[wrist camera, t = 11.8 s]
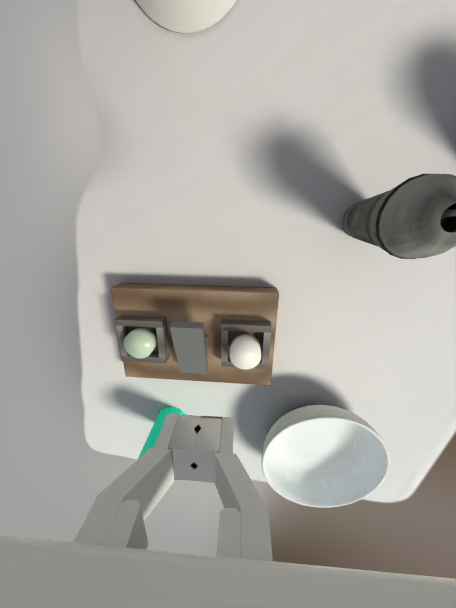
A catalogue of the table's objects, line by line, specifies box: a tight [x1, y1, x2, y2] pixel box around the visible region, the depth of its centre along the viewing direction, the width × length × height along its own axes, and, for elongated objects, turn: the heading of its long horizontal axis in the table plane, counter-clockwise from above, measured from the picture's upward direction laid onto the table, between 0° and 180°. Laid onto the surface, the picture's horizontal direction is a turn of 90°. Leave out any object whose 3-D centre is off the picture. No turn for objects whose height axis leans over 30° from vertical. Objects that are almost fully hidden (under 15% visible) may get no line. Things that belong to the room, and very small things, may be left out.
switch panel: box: [111, 283, 279, 385], centre depth 37 cm, size 16×25×5 cm, turn 89°
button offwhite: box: [230, 334, 261, 369], centre depth 33 cm, size 4×4×2 cm
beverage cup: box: [342, 174, 456, 259], centre depth 22 cm, size 7×7×20 cm
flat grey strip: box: [170, 321, 209, 374], centre depth 34 cm, size 10×4×1 cm, turn 179°
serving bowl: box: [262, 405, 390, 507], centre depth 41 cm, size 21×21×7 cm
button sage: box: [123, 327, 158, 358], centre depth 35 cm, size 4×4×2 cm
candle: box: [138, 407, 185, 459], centre depth 40 cm, size 6×6×12 cm
